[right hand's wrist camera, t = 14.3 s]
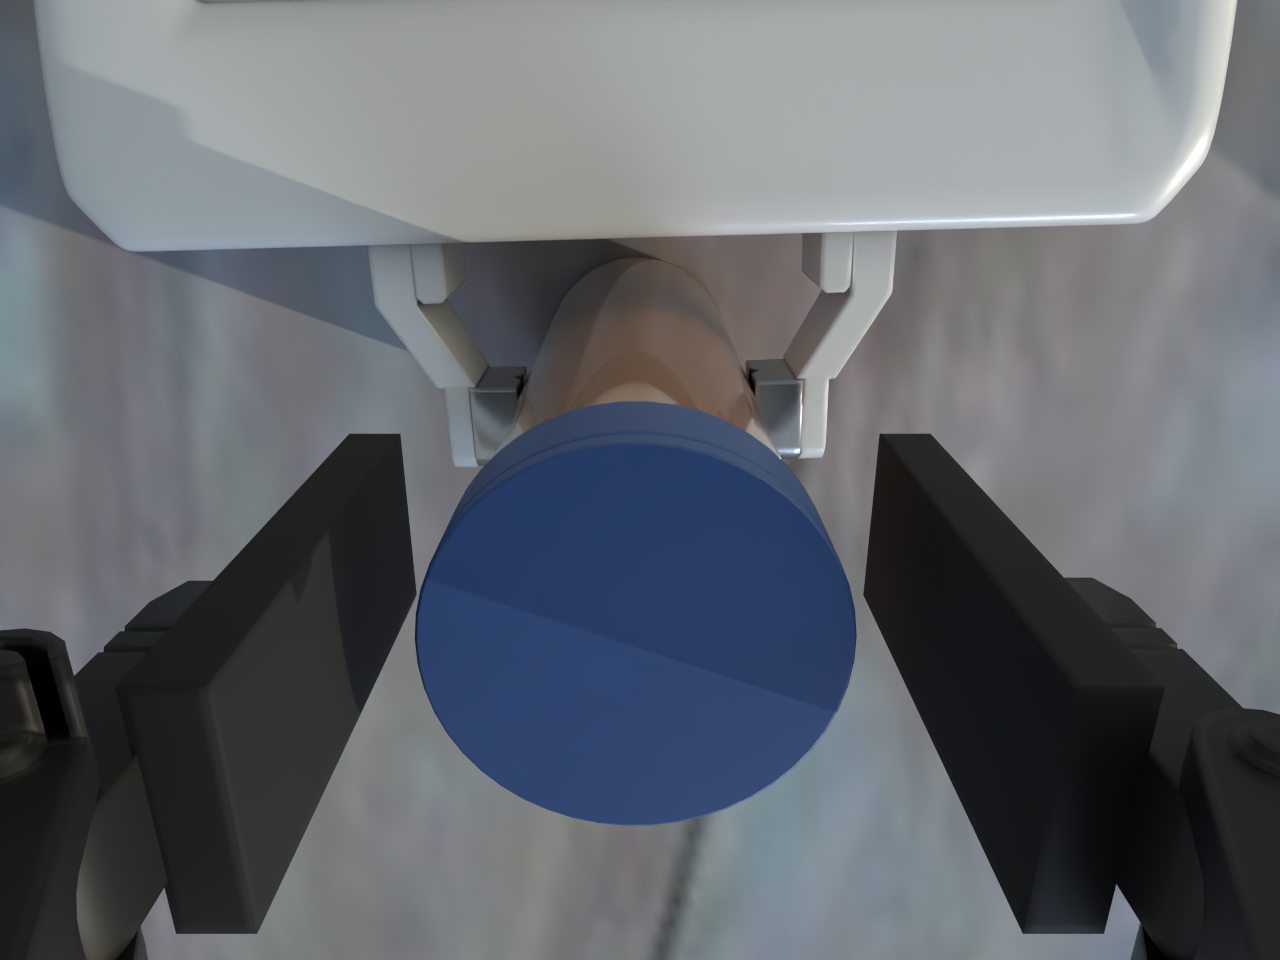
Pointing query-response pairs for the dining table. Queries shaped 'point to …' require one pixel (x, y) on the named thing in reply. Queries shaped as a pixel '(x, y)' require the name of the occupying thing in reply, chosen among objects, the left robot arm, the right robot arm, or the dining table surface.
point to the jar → (637, 351)
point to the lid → (635, 616)
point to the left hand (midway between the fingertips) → (640, 454)
